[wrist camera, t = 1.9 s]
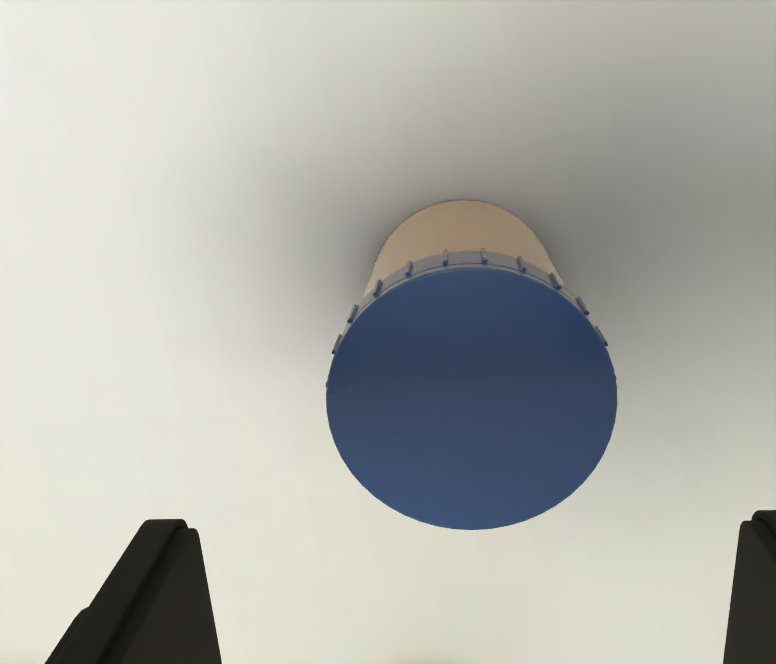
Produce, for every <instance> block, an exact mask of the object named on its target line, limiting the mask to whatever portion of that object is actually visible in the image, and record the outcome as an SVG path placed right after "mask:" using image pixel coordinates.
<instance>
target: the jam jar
mask: <svg viewBox="0 0 776 664" xmlns="http://www.w3.org/2000/svg"><path fill="white" fill-rule="evenodd" d="M481 248H485V250H486V252H493V253H500V254H504V255H507V256H511V257H514V258H517V257H518V256H521V257H523V260H524V261H525V262H527V263H530V264H532V265H534V266H536V267H538V268H540V269H541V270H543V271H545V272H546V273H548V274H551V272H553V273H554V274H555V275H556V277H557V279H558V281H559V282H560V283H561V284H563V282H562V280H561V278H560V276H559V274H558V273H557V271H556V269H555V267H554V265H553V263H552V262H551V260H550V258H549V256H548V254H547V253H546V251H545V249H544V247H543V245H542V243H541V242H540V240H539V239H538V238H537V236H536V235H535V233H534V232H533V231H532V230H531V229H530V228H529V227H528V226H527V225H526V224H525V223H524V222H523V221H522V220H520V219H519V218H518V217H517V216H515V215H513V214H512V213H510V212H508V211H507V210H504V209H502V208H500V207H498V206H495V205H492V204H488V203H485V202H480V201H473V200H455V201H447V202H442V203H438V204H435V205H432V206H429V207H427V208H424V209H422V210H420V211H419V212H417V213H415V214H413V215H412V216H410V217H409V218H408V219H406V220H405V221H404V222H402V223H401V224H400V225H399V226H398V227H397V228H396V229H395V230H394V231H393V232H392V234H391V235H390V236H389V238H388V239H387V240H386V242H385V244H384V245H383V247H382V249H381V251H380V253H379V255H378V258H377V260H376V263H375V265H374V268H373V271H372V273H371V276H370V279H369V282H368V284H367V287H366V290H365V292H364V295H363V298H362V300H363V299H364V298H365V296H366V295H367V294H368V293H369V292H370V291H371V290H372V289H373V288H374V287H375V284H376V281H377V280H379V279H380V280H381V281H382V280H384V279H385V278H386V277H388V276H389V275H391V274H392V273H393V272H395V271H397V270H399V269H401V268H402V267H404V266H406V264H407V261H409V260H411V261H412V262H415V261H418V260H420V259H423V258H426V257H429V256H433V255H437V254H441V253H443V250H446V249H447V251H448V252H455V251H481ZM563 285H564V284H563ZM564 286H565V285H564ZM362 300H361V301H362Z"/></svg>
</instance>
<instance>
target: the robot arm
mask: <svg viewBox="0 0 776 664" xmlns="http://www.w3.org/2000/svg"><path fill="white" fill-rule="evenodd" d="M45 664H222V662H221V655H220V650H219V644H218V639H217V633H216V628H215V622H214V617H213V611H212V605H211V600H210V594H209V589H208V583H207V578H206V572H205V566H204V561H203V555H202V550H201V544H200V539H199V534H198V532H197V530H196V529H195V528H188V526H187V524H186V522H185V521H184V520H183V519H152V520H146V521H145V522H144V523H143V524H142V525H141V527H140V528H139V530H138V532H137V533H136V535H135V536H134V538H133V539H132V541H131V542H130V544H129V545H128V547H127V549H126V550H125V552H124V553H123V555H122V556H121V558H120V559H119V561H118V562H117V564H116V565H115V567H114V569H113V570H112V572H111V573H110V575H109V576H108V578H107V579H106V581H105V582H104V584H103V585H102V587H101V589H100V590H99V592H98V593H97V595H96V596H95V598H94V599H93V601H92V602H91V604H90V606H89V607H87V608H85V609H83V610H81V612H80V613H79V614H78V615H77V616H76V617H75V619H74V620H73V622H72V623H71V625H70V626H69V628H68V629H67V631H66V632H65V634H64V635H63V637H62V638H61V640H60V641H59V643H58V644H57V646H56V647H55V649H54V650H53V652H52V653H51V655H50V656H49V658H48V660H47V661H46V663H45ZM723 664H776V510H758V511H756V512H755V513H754V515H753V516H752V520H751V521H743V522H742V524H741V526H740V530H739V538H738V546H737V554H736V562H735V570H734V579H733V587H732V595H731V603H730V611H729V619H728V627H727V635H726V643H725V651H724V659H723Z"/></svg>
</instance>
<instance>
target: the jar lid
mask: <svg viewBox="0 0 776 664" xmlns="http://www.w3.org/2000/svg"><path fill="white" fill-rule="evenodd" d="M588 314H590V313H589V312H588V310H587V308H586V306H585V305H584V303H583V301H582V300H581V298H580V297H577V298H575V297H574V295H573V294H572V293H571V292H570V291H569V290H568V289H567V288H566V287H565V286H564V285H563V284H561V283H560V282H559V281H558V279H557V277H556V275H555V274H554V273H553V272H551V274H548V273H546V272H545V271H543V270H541V269H540V268H538V267H536V266H534V265H532V264H530V263H527V262H525V261H524V260H523V257H521V256H518V257H517V258H514V257H511V256H507V255H504V254H500V253H493V252H486V250H485V248H481V251H455V252H448V251H447V249H446V250H443V253H441V254H437V255H433V256H429V257H426V258H423V259H420V260H418V261H415V262H412V261H411V260H409V261H407V264H406V266H404V267H402V268H401V269H399V270H397V271H395V272H393V273H392V274H391V275H389V276H388V277H386V278H385V279H384V280H382V281H381V280H380V279H379V280H377V281H376V284H375V287H374V288H373V289H372V290H371V291H370V292H369V293H368V294H367V295H366V296H365V298H364V299H363V300H362V301H361V303H360V304H359V305H358V306H357V305H354V306H353V308H352V311H351V313H350V316H349V318H348V321H347V322H348V323H347V325H346V328H345V330H344V332H343V335H340V334H339V336H338V338H337V341H336V343H335V346H334V348H333V351H332V354H334V357H333V360H332V364H331V367H330V371H329V375H328V380H327V382H326V387H327V390H326V407H327V416H328V421H329V427H330V430H331V433H332V436H333V440H334V443H335V445H336V447H337V449H338V451H339V453H340V455H341V457H342V459H343V461H344V462H345V464H346V465H347V467H348V468H349V470H350V471H351V473H352V474H353V475H354V476H355V477H356V479H357V480H358V481H359V482H360V483H361V484H362V486H364V487H365V488H366V489H367V490H368V491H369V492H370V493H371V494H372V495H373V496H375V497H376V498H377V499H379V500H380V501H382V502H383V503H384V504H386V505H387V506H389V507H390V508H392V509H394V510H396V511H398V512H399V513H401V514H403V515H405V516H408V517H410V518H413V519H415V520H418V521H420V522H424V523H427V524H431V525H435V526H439V527H445V528H451V529H464V530H479V529H492V528H498V527H504V526H509V525H512V524H516V523H519V522H522V521H525V520H528V519H530V518H533V517H535V516H537V515H540V514H542V513H544V512H545V511H547V510H549V509H551V508H552V507H554V506H556V505H557V504H559V503H560V502H562V501H563V500H564V499H566V498H567V497H568V496H570V495H571V494H572V493H573V492H574V491H575V490H576V489H577V488H578V487H579V486H580V485H581V484H583V482H584V481H585V480H586V479H587V478H588V476H589V475H590V474H591V473H592V471H593V470H594V469H595V467H596V466H597V464H598V462H599V461H600V459H601V457H602V456H603V454H604V452H605V450H606V447H607V445H608V443H609V440H610V438H611V434H612V431H613V427H614V424H615V418H616V410H617V384H616V376H615V373H614V368H613V365H612V362H611V359H610V356H609V353H608V351H607V349H606V346H608V344H607V342H606V340H605V338H604V336H603V335H602V333H601V331H600V330H599V328H598V326H596V327H595V326H594V325H593V323H592V321H591V319H590V318H589V316H588Z"/></svg>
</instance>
